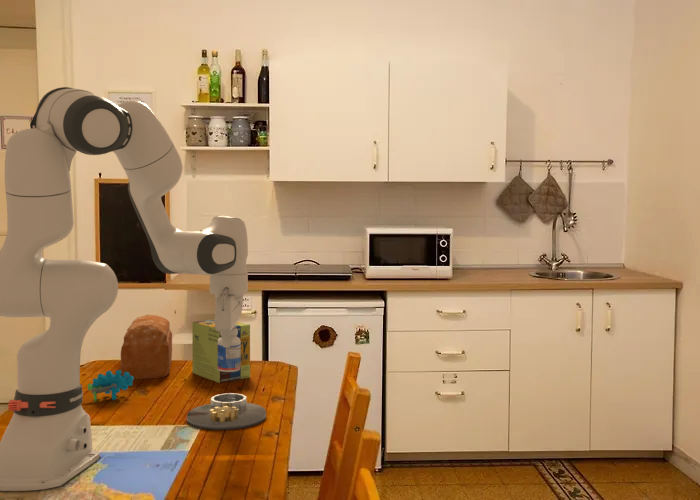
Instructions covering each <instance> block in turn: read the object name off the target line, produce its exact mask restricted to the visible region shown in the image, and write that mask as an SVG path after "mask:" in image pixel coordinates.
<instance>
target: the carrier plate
mask: <svg viewBox="0 0 700 500" xmlns="http://www.w3.org/2000/svg"><path fill="white" fill-rule="evenodd" d="M247 399H248V397H247V395H244V394H241V393H236V392H235V393H233V392H228V393H221V394H216V395H214V396H211V398H210V403H207V404H203V405H199V406H196V407H193V408H192V409H190V410H189V411H188V412H187V413H186V422H187V424H189V425H191V426H192V427H194V428H197V429H202V430H211V431H230V430H232V431H233V430H240V429H241V430H242V429H246V428H249V427H253V426H256V425H259V424H260V423H263V422H264V421H265V420H266V418H267V410H266V408H264V407H263V406H262V405H259V404H255V403H251V402H247V401H248V400H247Z"/></svg>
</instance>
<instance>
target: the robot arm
mask: <svg viewBox="0 0 700 500" xmlns="http://www.w3.org/2000/svg"><path fill="white" fill-rule="evenodd" d="M29 127H30V128H26V129H22V130H19V131H17V132H15V133H13V134H12V135H11V136H10V137H9V139H7V140H8V141H7V143H6V149H5V155H4V156H5V157H4V189H5V200H6V213H7V215H6V218H7V220H6V222H7V223H6V224H7V225H6V227H7V228H6V234H5V235H6V236H5V239H4V242H3V244H2V246H1V248H0V317H4V318H49V319H50V320H49V321H50V322H49V323H50V324H49V328H48V329H47V330H46V331H44V332H41V333H39V334H36V335H35V336H33V337H32V338H29V339H28V340H26V341H25V342H24V343H23V344H21V346H20V348H18V351H17V353H16V372H17V374H16V376H17V377H16V378H17V379H16V380H17V389H16V390H15V392H14V393H15V394H14V397H13V399H10V400H8V403H7V409H8V411H9V412H13V413H12V414H13V415H12V417H11V419H10V420H9V423H8V425H7V427H6V429H5V431H4V433H3V436H2V438H1V439H0V491H1V492H2V491H5V492H6V491H7V492H18V491H21V492H23V491H38V490H47V489H51V488H57V487H60V486H62V485H64V484H65V483H67V482H68V481H70V480H71V479H72V478H73V477H75V476H77V475H78V474H79V473H81V472H82V471H84V470H85V469H87V468H88V467H90V466H91V465H92V464H94V463H95V462H97V461H98V460H100V458H101V454H100V451H98V450H95V449H93V437H92V425H91V417H90V415H89V413H87V412H86V411H85V410H84V408H83V406H82V404H83V401H84V399H83V396H84V391H83V386H82V384H81V381H80V375H81V374H80V372H81V371H80V370H81V369H80V368H81V367H80V366H81V354H82V353H81V351H82V346H83V342H84V339H85V337H86V335H87V333H88V331H89V329H90V328H91V326H92V325H93V324H94V323H95V322H96V321H97V319H99V318H100V317H101V316H102V315H103V314H105V313H106V312H107V311H108V310H110V309H111V307H112V306H113V305H114V303H115V301H116V299H117V297H118V292H119V283H118V282H119V281H118V278H117V275H116V274H115V271H114V270H113V269H112V268H111V267H110V266H109V264H107V263H104V262H99V261H92V260H88V259H46V258H44V256H43V250H45V249H46V248H48V247H50V246H53V245H55V244H57V243H60V241H62V240H64V239H66V238H67V237H68V236H69V235H70V233H72V230H73V227H74V225H75V223H74V209H73V197H72V196H73V195H72V194H73V193H72V185H71V184H72V183H71V174H70V171H71V165H72V161H73V159H74V157H75V155H76V154H77V152H78V153H80V154H81V153H82V154H84V155H88V156H100V155H106V154H109V153H111V152H113V154H115V156H116V159H117V160H118V162H119V163H120V165H121V167H122V168H123V171H124V172H125V174H126V176H127V179H128V184H127V191H128V195H129V199H130V201H131V204H132V206H133V207H132V208H133V209H134V211H135V214H136V216H137V219H138V220H139V222H140V224H141V228H142V229H143V232H144V233H145V236H146V239H147V242H148V245H149V249H150V253H151V258H152V261H153V263H154V266H156V268H157V269H158V270H159V271H161V273H163V274H167V275H175V274H176V275H178V274H179V275H181V274H185V275H186V274H189V275H203V276H204V275H205V276H209V293H210V294H211V295H214V300H215V308H214V309H215V310H214V311H215V313H214V314H215V315H214V320H215V329H216V331H221V335H222V340H223V347H230V346H231V330H232V329H233V328H236V323H237V322H239V320H240V319H241V316H242V311H243V304H244V294H247V293H248V292H249V287H248V286H249V283H248V282H249V279H248V277H249V275H248V272H249V270H248V268H247V260H248V259H247V258H248V255H249V254H248V253H249V252H248V251H249V248H248V246H249V245H248V244H249V243H248V231H247V226H246V224H245V221H243V220H242V219H241V218H238V217H235V216H227V215H218V216H217V215H216V216H213V217H212V219H211V222H210V223H209V224H208V225H207V226H206V227H204V228H203V229H200V230H197V231H191V230H187V231H186V230H181V229H179V228H177V227H175V226H174V225H173V224H172V222H171V220H170V217H169V215H168V213H167V209H166V208H165V206H164V204H163V201H162V197H163V196H164V195H166V194H168V193H169V192H170V191H171V190H172V189H173V188H175V186H176V185H177V184H178V182H179V181H180V179H181V177H182V173H183V164H182V159H181V156H180V154H179V152H178V150H177V148H176V146H175V144H174V142H173V140H172V139H171V137H170V135H169V134H168V131H167V130H166V129H165V127H164V126H163V124H162V122H161V121H160V120H159V118H158V117H157V116H156V115H155V113H154V111H152V109H151V108H150V107H149V106H148V105H147V104H146V103H144V102H141V101H139V100H128V101H123V102H121V103H118V104H116V103H114V102H113V101H111V100H110V99H108V98H105V97H103V96H99V95H97V94H95V93H93V92H91V91H88V90H84V89H79V88H75V87H74V88H73V87H69V86H68V87H67V86H64V87H63V86H62V87H57V88H54V89H52V90H49V91H48V92H46V93H45V94H44V95H43V96H42V98H41V99H40V100H39V102H38V104H37V107H36V111H35V113H34V115H33V117H32V119H31V121H30V125H29Z"/></svg>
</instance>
